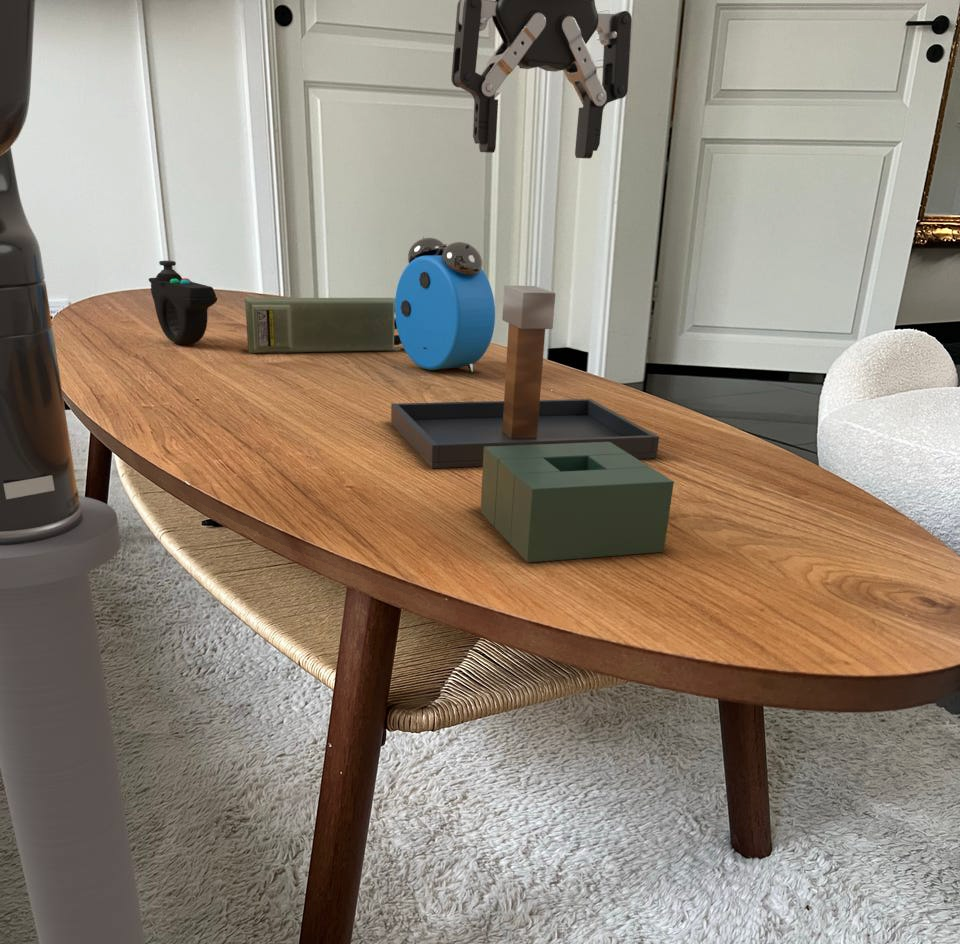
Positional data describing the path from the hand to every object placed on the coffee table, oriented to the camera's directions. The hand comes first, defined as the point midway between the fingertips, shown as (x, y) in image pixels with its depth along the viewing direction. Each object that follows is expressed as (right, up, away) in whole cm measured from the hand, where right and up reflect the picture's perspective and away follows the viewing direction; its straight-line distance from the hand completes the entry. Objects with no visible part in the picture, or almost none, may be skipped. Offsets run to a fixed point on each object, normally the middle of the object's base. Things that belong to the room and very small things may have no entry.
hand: (535, 155), depth 77 cm
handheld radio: (-23, -1, +48) cm, 54 cm away
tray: (-1, -21, +11) cm, 24 cm away
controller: (-44, -1, +47) cm, 64 cm away
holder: (+2, -32, -11) cm, 34 cm away
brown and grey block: (-1, -21, +11) cm, 23 cm away
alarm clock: (-10, -6, +40) cm, 42 cm away
